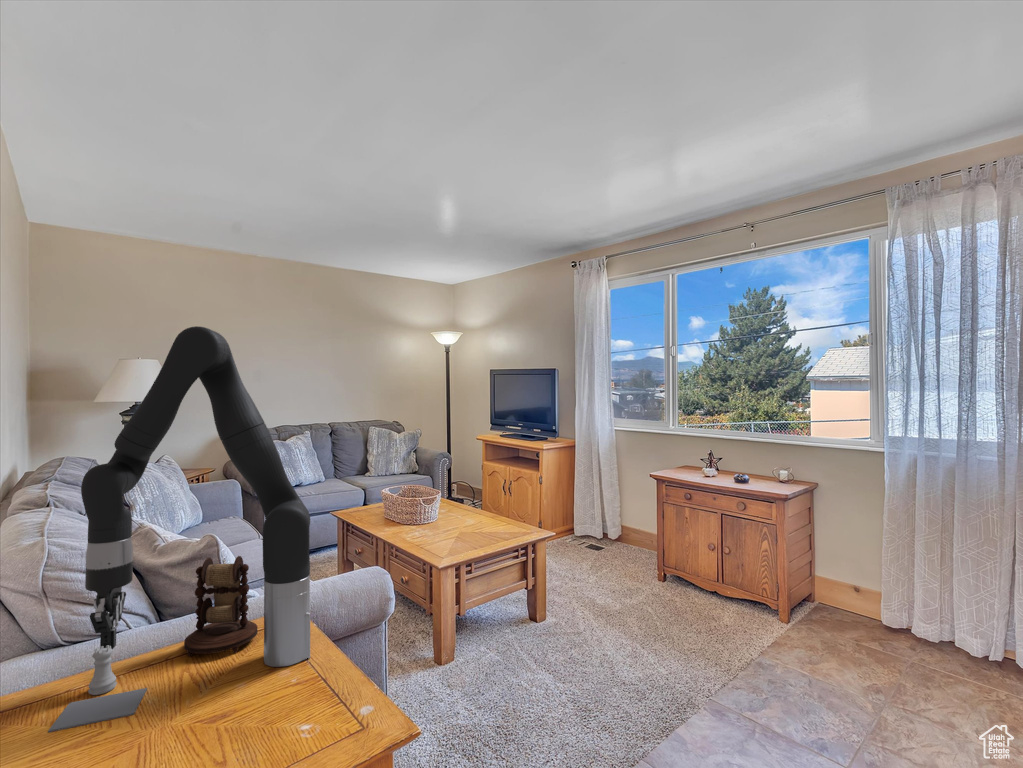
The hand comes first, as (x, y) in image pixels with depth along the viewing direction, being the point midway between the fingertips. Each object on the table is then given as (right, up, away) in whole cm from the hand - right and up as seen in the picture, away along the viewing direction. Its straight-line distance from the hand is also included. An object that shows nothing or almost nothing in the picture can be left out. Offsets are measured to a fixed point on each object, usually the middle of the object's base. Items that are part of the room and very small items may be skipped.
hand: (108, 649), depth 103 cm
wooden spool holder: (+14, -7, +16) cm, 22 cm away
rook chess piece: (+1, -7, -3) cm, 7 cm away
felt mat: (+6, -6, -9) cm, 13 cm away
